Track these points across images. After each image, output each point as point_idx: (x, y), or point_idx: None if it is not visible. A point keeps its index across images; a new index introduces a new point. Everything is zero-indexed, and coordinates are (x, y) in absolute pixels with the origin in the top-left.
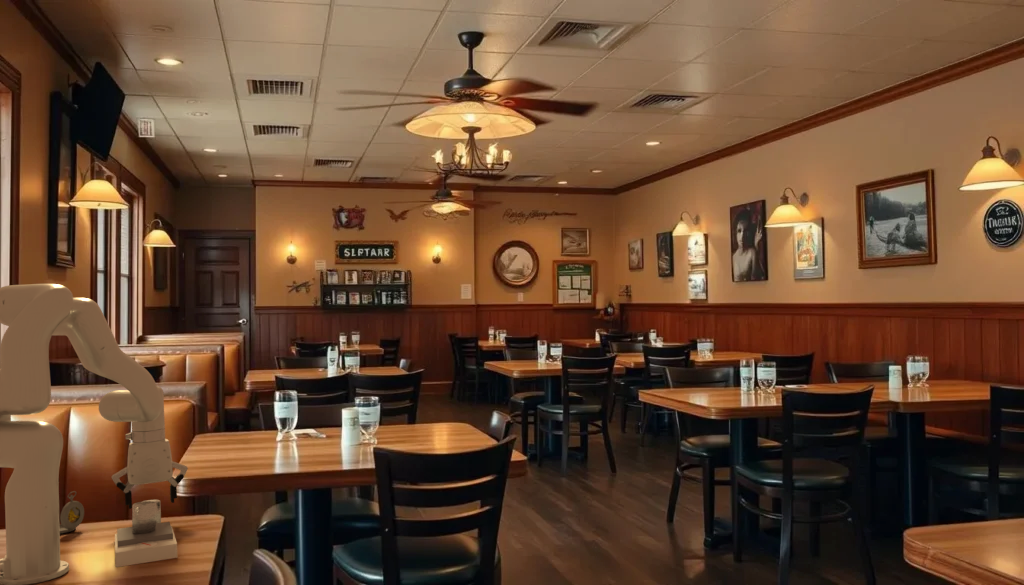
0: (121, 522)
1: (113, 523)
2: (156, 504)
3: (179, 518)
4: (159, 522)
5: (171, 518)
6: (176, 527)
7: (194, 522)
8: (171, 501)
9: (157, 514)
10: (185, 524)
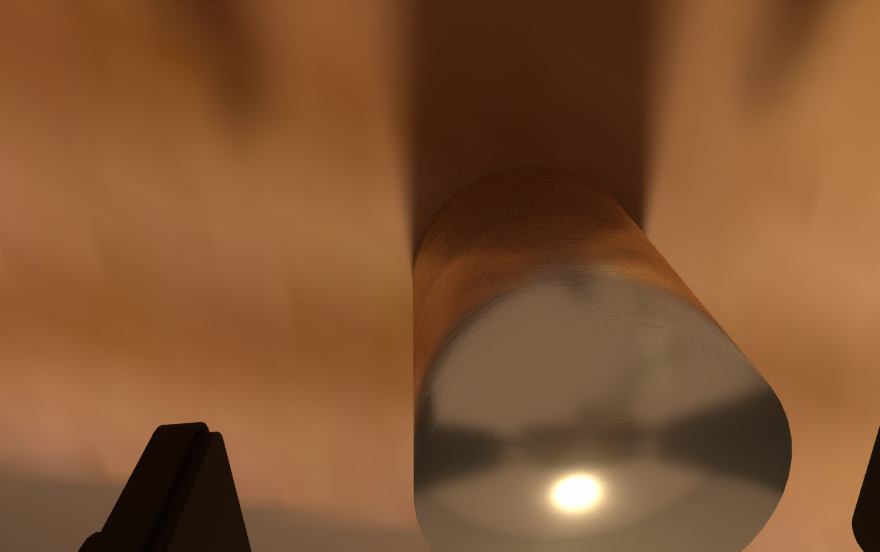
0: (763, 529)
1: (830, 526)
2: (486, 353)
3: (232, 444)
4: (429, 246)
5: (316, 476)
6: (208, 53)
7: (9, 202)
8: (208, 438)
9: (458, 272)
10: (111, 157)
